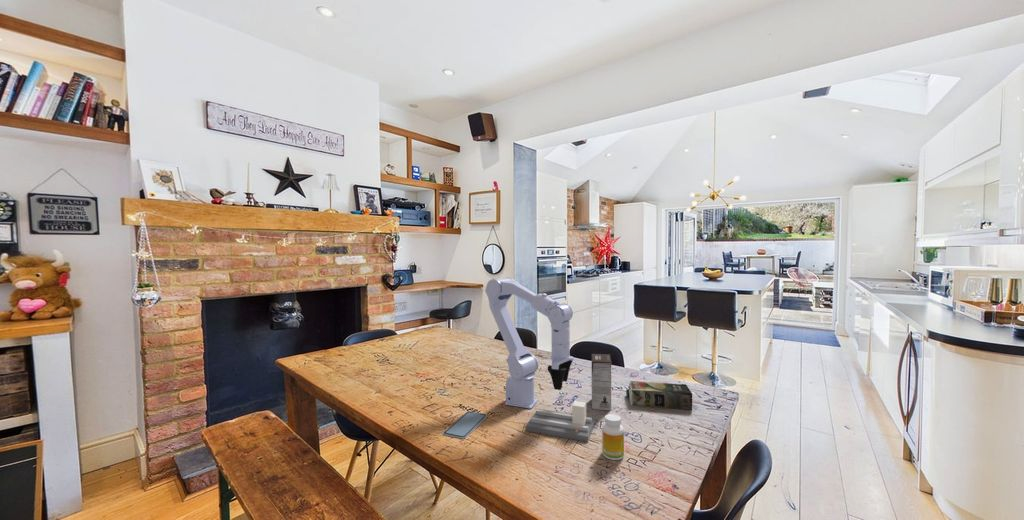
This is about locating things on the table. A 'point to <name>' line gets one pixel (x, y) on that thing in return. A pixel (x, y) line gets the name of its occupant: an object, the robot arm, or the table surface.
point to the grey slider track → (559, 425)
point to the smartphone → (465, 425)
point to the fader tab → (579, 413)
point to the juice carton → (660, 395)
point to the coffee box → (601, 381)
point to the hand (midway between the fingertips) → (560, 385)
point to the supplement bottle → (613, 437)
